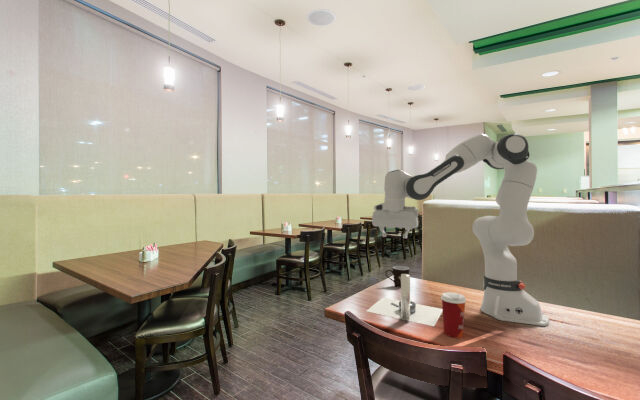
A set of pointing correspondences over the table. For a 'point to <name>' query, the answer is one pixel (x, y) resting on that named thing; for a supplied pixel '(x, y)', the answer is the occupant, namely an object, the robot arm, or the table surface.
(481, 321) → the table surface
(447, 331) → the paper cup
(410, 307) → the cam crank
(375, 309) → the board
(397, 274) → the coffee mug
